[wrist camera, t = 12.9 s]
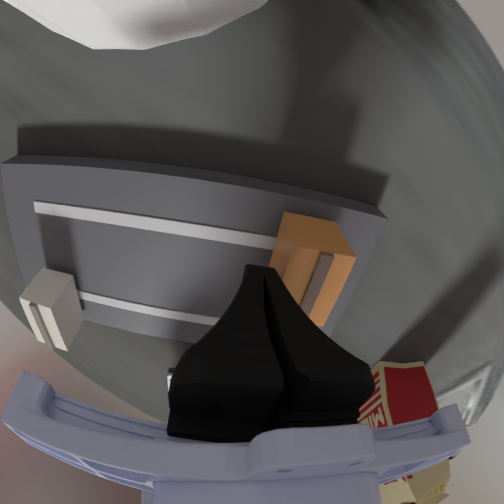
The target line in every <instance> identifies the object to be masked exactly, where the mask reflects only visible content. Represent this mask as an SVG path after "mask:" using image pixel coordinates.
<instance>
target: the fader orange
mask: <svg viewBox="0 0 504 504" xmlns="http://www.w3.org/2000/svg"><path fill="white" fill-rule="evenodd" d="M356 258H357V257H356V255H355V254H354V252H353V250H352V248H351V247H350V245H349V243H348V241H347V240H346V238H345V236H344V234H343V233H342V231H341V229H340V228H339V226H338V224H337V223H336V222H333V221H329V220H324V219H319V218H314V217H309V216H305V215H300V214H294V213H289V212H284V213H283V217H282V220H281V224H280V228H279V231H278V235H277V238H276V242H275V246H274V249H273V253H272V256H271V260H270V263H269V267H272V268H275V269H276V271H277V273H278V274H279V276H280V278H281V279H282V281H283V283H284V284H285V286H286V287H287V289H288V291H289V292H290V293H291V295H292V296H293V298H294V299H295V301H296V302H297V304H298V305H299V306H300V307H301V309H302V310H303V311H304V312H305V314H306V315H307V316H308V317H309V318H310V319H311V320H312V321H313V322H314V323H315V325H316V326H321V327H323V326H324V324H325V322H326V320H327V318H328V316H329V314H330V312H331V310H332V308H333V306H334V304H335V302H336V300H337V298H338V296H339V294H340V292H341V290H342V288H343V286H344V284H345V282H346V279H347V277H348V275H349V273H350V271H351V269H352V267H353V264H354V262H355V260H356Z"/></svg>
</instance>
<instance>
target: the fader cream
mask: <svg viewBox="0 0 504 504" xmlns="http://www.w3.org/2000/svg"><path fill="white" fill-rule="evenodd" d="M19 299H20V302H21V304H22V307H23V309H24V311H25V314H26V316H27V318H28V321H29V323H30V325H31V327H32V329H33V331H34V333H35V335H36V337H37V340H38V341H40V342H43V343H46V345H47V347H48V348H50V349H52V350H54V349H55V347H57V348H59V349H62V350H65V351H68V350H69V348H70V346H71V344H72V342H73V340H74V338H75V336H76V334H77V332H78V330H79V328H80V326H81V324H82V322H83V320H84V316H83V313H82V309H81V306H80V302H79V298H78V294H77V290H76V286H75V282H74V277H73V275H70V274H66V273H62V272H58V271H54V270H50V269H46V268H42V269H41V270H40V271H39V272H38V274H37V275H36V276H35V277H34V279H33V280H32V281H31V282H30V284H29V285H28V286H27V288H26V289H25V290H24V291H23V293H22V294H21V295H20V297H19Z"/></svg>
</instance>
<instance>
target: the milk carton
mask: <svg viewBox="0 0 504 504" xmlns="http://www.w3.org/2000/svg"><path fill="white" fill-rule="evenodd" d="M371 372H372V375H373V378H374V382H375V385H376V388H375V391H374V393H373V394H372V395H371V397H370V398H369V399H368V400H367V401H366V402H365V403H364V404H363V405H362V406H361V407H360V408H359V411H360V417H359V418H358V419H357V420H358V424H366V425H368V426H370V427H371V428H372V429H374V428H380V427H386V426H392V425H397V424H402V423H407V422H411V421H415V420H420V419H424V418H428V417H431V415H432V414H433V413H434V412H436V411H437V410H439V407H438V403H437V400H436V396H435V392H434V389H433V386H432V384H431V381H430V378H429V375H428V373H427V370H426V367H425V365H424V362H423V361H420V362H411V363H395V362H386V361H379V362H378V363H377V364H376V365H375V366H374V367H373V368H372V369H371ZM449 478H450V466H449V457H448V458H447V459H445V460H443V461H441V462H440V463H438V464H435V465H433V466H431V467H428V468H426V469H423V470H420V471H418V472H415V473H413V474H410V475H407V476H404V477H402V478H399V479H396V480H393V481H390V482H387V483H384V484H380V485H379V491H380V496H381V502H382V504H437V503H439V502H440V501H442V500H443V499H445V498H446V497H447V496H449V495H448V494H445V493H444V491H445V488H446V486H447V483H448V481H449Z"/></svg>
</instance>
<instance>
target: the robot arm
mask: <svg viewBox="0 0 504 504" xmlns="http://www.w3.org/2000/svg"><path fill="white" fill-rule="evenodd" d="M167 381H168V398H169V411H168V417H167V423H166V424H161V423H155V422H151V421H146V420H142V419H137V418H133V417H129V416H126V415H122V414H118V413H115V412H111V411H108V410H104V409H101V408H98V407H95V406H92V405H89V404H86V403H83V402H80V401H77V400H75V399H72V398H69V397H66V396H64V395H61V394H59V393H56V392H55V391H54V389H53V387H52V385H51V384H49V382H47V381H46V380H44V379H43V378H40V377H38V376H36V375H34V374H31V373H29V372H27V371H25V370H22V372H21V373H20V376H19V378H18V380H17V382H16V384H15V386H14V388H13V390H12V393H11V395H10V397H9V400H8V402H7V405H6V407H5V409H4V412H3V414H2V417H1V421H2V422H3V423H4V424H6V425H7V426H8V427H9V428H10V429H11V430H12V431H13V432H15V433H16V434H17V435H18V436H20V437H21V438H22V439H23V440H25V441H26V442H27V443H28V444H30V445H32V446H34V447H35V448H37V449H39V450H41V451H43V452H45V453H47V454H49V455H51V456H53V457H55V458H57V459H60V460H62V461H64V462H66V463H69V464H71V465H73V466H75V467H78V468H80V469H82V470H85V471H87V472H90V473H93V474H95V475H98V476H100V477H103V478H106V479H109V480H112V481H115V482H118V483H121V484H124V485H127V486H131V487H134V488H138V489H142V504H382V502H381V496H380V491H379V485H380V484H384V483H387V482H390V481H393V480H396V479H399V478H402V477H404V476H407V475H410V474H413V473H415V472H418V471H420V470H423V469H426V468H428V467H431V466H433V465H435V464H438V463H440V462H441V461H443V460H445V459H447V458H448V457H450V456H451V455H453V454H455V453H456V452H458V451H460V450H461V449H463V448H464V447H466V446H467V445H469V444H470V443H471V440H470V438H469V435H468V432H467V429H466V427H465V424H464V421H463V419H462V416H461V414H460V411H459V409H458V406H457V404H453V405H449V406H446V407H443V408H441V409H439V410H437V411H436V412H434V413H433V414H432V415H431V417H428V418H424V419H420V420H415V421H411V422H407V423H402V424H397V425H392V426H386V427H380V428H374V429H372V428H371V427H370V426H368V425H366V424H358V420H357V419H358V418H359V417H360V411H359V408H360V407H361V406H362V405H363V404H364V403H365V402H366V401H367V400H368V399H369V398H370V397H371V395H372V394H373V393H374V391H375V388H376V385H375V382H374V378H373V375H372V372H371V370H370V367H369V365H368V364H367V363H365V362H363V361H362V360H360V359H358V358H357V357H355V356H353V355H352V354H350V353H349V352H347V351H346V350H345V349H343V348H342V347H340V346H339V345H338V344H337V343H335V342H334V341H333V340H332V339H330V338H329V337H328V336H327V335H326V334H325V333H324V332H323V331H321V330H320V329H319V328H318V327H317V326H316V325H315V323H314V322H313V321H312V320H311V319H310V318H309V317H308V316H307V315H306V314H305V312H304V311H303V310H302V309H301V307H300V306H299V305H298V304H297V302H296V301H295V299H294V298H293V296H292V295H291V293H290V292H289V291H288V289H287V287H286V286H285V284H284V283H283V281H282V279H281V278H280V276H279V274H278V273H277V271H276V269H275V268H272V267H265V266H259V265H252V264H247V265H245V268H244V272H243V277H242V281H241V285H240V287H239V289H238V291H237V293H236V295H235V297H234V299H233V300H232V302H231V304H230V305H229V307H228V308H227V310H226V311H225V313H224V314H223V315H222V317H221V318H220V319H219V320H218V321H217V323H216V324H215V325H214V326H213V327H212V328H211V329H210V330H209V331H208V332H207V333H206V334H205V335H204V336H203V337H202V338H201V339H200V340H199V341H198V342H196V343H195V344H194V345H193V346H191V347H190V348H189V349H188V350H186V351H185V353H184V355H183V356H182V358H181V359H180V361H179V363H178V364H177V366H176V368H175V370H174V372H173V373H168V375H167Z"/></svg>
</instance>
